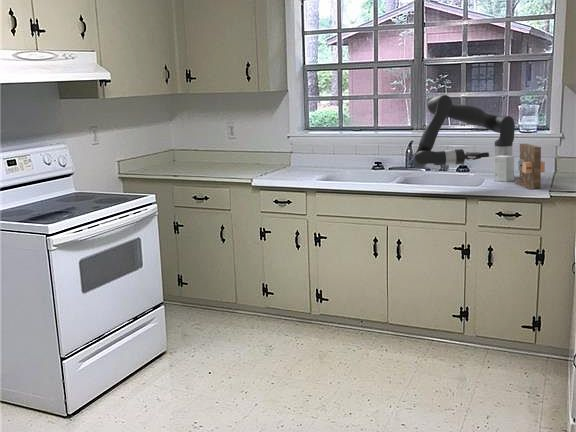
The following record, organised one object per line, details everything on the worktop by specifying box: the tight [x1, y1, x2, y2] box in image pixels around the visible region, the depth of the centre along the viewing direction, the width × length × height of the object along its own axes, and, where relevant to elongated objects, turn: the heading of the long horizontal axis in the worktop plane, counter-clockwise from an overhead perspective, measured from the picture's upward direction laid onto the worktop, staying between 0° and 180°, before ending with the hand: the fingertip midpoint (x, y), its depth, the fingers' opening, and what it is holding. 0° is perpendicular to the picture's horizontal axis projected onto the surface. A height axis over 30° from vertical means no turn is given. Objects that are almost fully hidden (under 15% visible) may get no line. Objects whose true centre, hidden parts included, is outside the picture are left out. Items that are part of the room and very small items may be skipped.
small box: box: [493, 155, 515, 183], centre depth 346 cm, size 8×6×13 cm
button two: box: [522, 160, 546, 173], centre depth 318 cm, size 5×9×5 cm, turn 89°
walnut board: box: [514, 143, 542, 190], centre depth 324 cm, size 21×6×20 cm, turn 179°
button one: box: [514, 158, 525, 172], centre depth 329 cm, size 5×9×5 cm, turn 89°
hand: (488, 154), depth 328 cm, fingers closed
